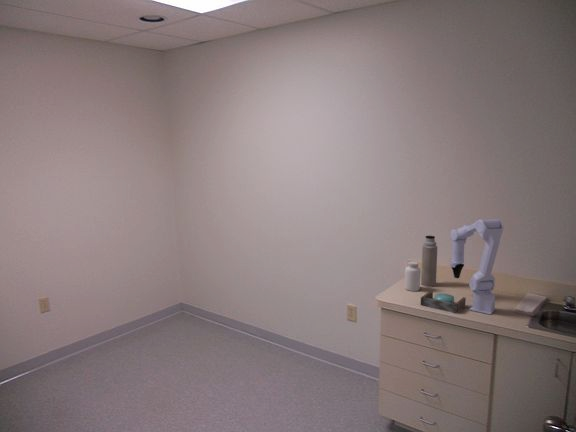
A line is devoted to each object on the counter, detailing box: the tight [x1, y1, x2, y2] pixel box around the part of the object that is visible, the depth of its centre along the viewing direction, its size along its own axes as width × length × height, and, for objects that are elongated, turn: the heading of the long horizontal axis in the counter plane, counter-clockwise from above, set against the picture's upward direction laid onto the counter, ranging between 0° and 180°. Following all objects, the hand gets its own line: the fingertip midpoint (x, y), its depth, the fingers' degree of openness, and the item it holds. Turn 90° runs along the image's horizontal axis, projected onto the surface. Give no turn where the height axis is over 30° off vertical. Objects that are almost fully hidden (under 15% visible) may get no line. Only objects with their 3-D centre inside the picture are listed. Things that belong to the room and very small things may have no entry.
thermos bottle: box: [420, 235, 438, 288], centre depth 237 cm, size 8×8×28 cm
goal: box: [420, 290, 467, 314], centre depth 207 cm, size 17×12×4 cm
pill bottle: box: [404, 261, 421, 292], centre depth 231 cm, size 8×8×15 cm
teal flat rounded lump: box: [434, 292, 455, 304], centre depth 209 cm, size 9×9×4 cm
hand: (456, 277), depth 220 cm, fingers closed
